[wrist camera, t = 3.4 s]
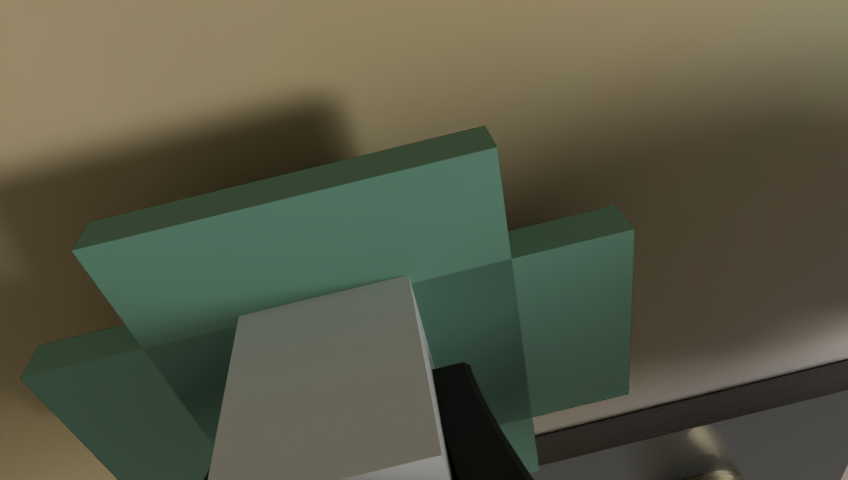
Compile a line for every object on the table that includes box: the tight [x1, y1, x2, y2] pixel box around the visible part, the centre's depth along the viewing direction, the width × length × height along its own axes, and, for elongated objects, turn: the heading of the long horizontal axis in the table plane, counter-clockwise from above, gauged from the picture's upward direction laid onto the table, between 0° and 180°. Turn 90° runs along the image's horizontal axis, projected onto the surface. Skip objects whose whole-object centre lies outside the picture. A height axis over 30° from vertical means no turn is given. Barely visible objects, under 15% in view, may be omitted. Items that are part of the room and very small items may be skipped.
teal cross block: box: [20, 126, 635, 480], centre depth 10 cm, size 11×9×4 cm
